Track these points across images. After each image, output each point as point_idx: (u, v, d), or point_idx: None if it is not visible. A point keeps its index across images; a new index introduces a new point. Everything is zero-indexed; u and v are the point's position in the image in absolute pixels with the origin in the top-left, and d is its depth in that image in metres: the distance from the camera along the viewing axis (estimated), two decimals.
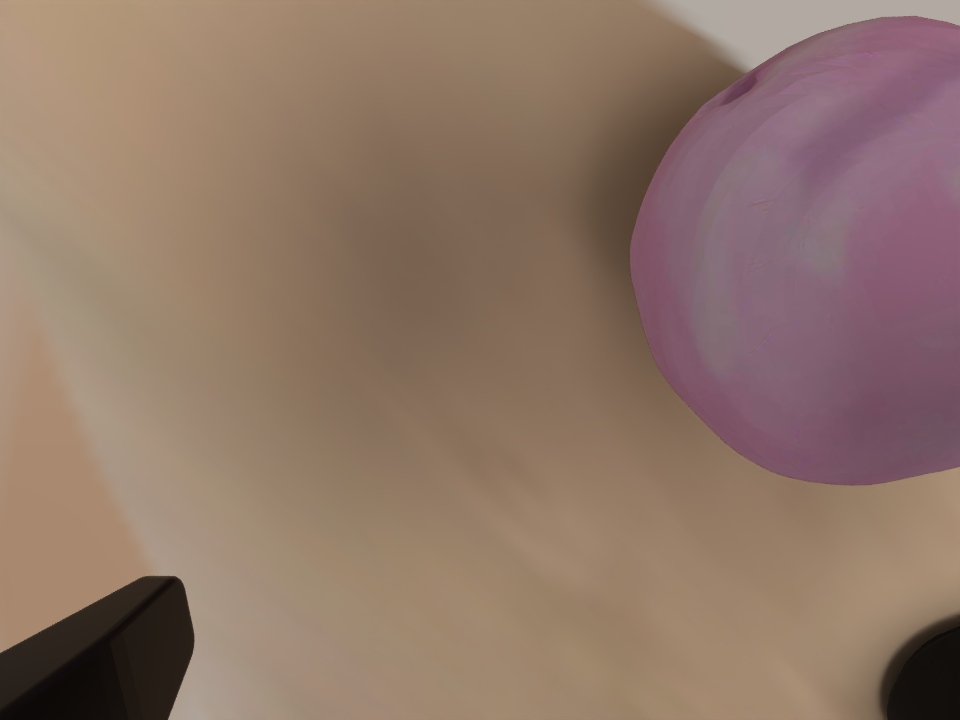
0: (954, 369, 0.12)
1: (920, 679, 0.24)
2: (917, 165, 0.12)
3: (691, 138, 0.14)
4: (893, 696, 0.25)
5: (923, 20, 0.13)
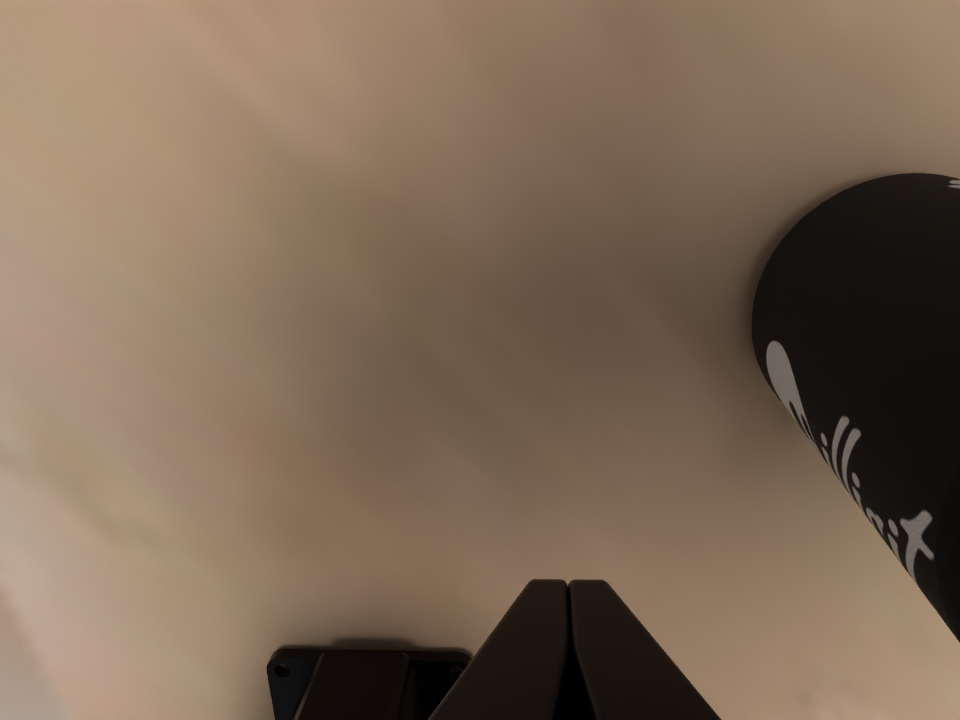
0: None
1: (785, 252, 0.18)
2: None
3: None
4: (756, 297, 0.18)
5: None
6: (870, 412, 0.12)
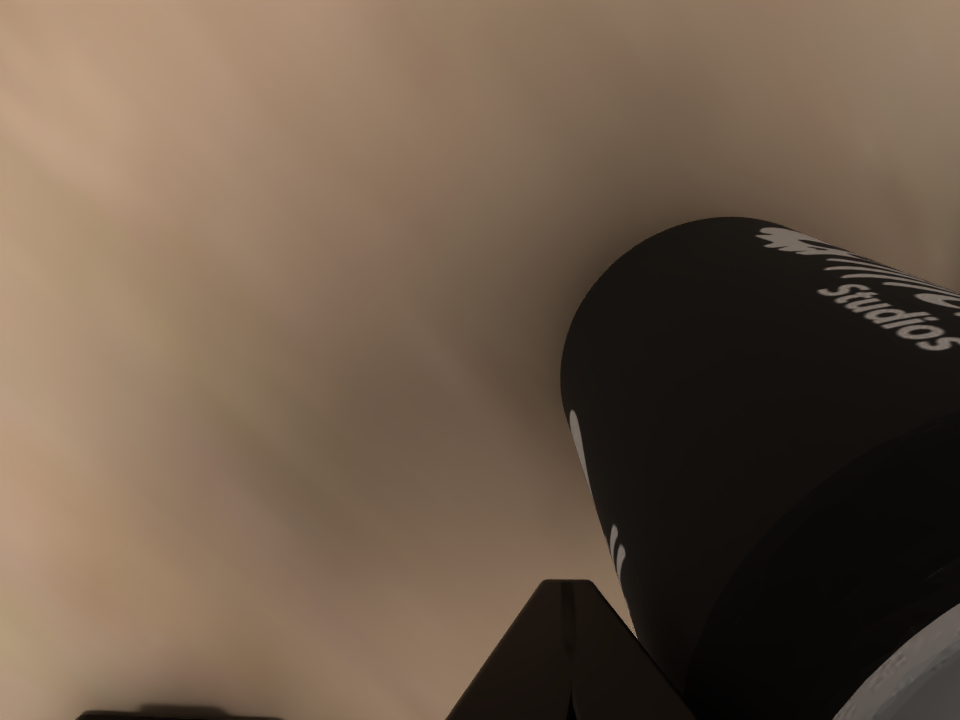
0: None
1: (590, 305, 0.15)
2: None
3: None
4: (563, 354, 0.16)
5: None
6: (632, 530, 0.09)
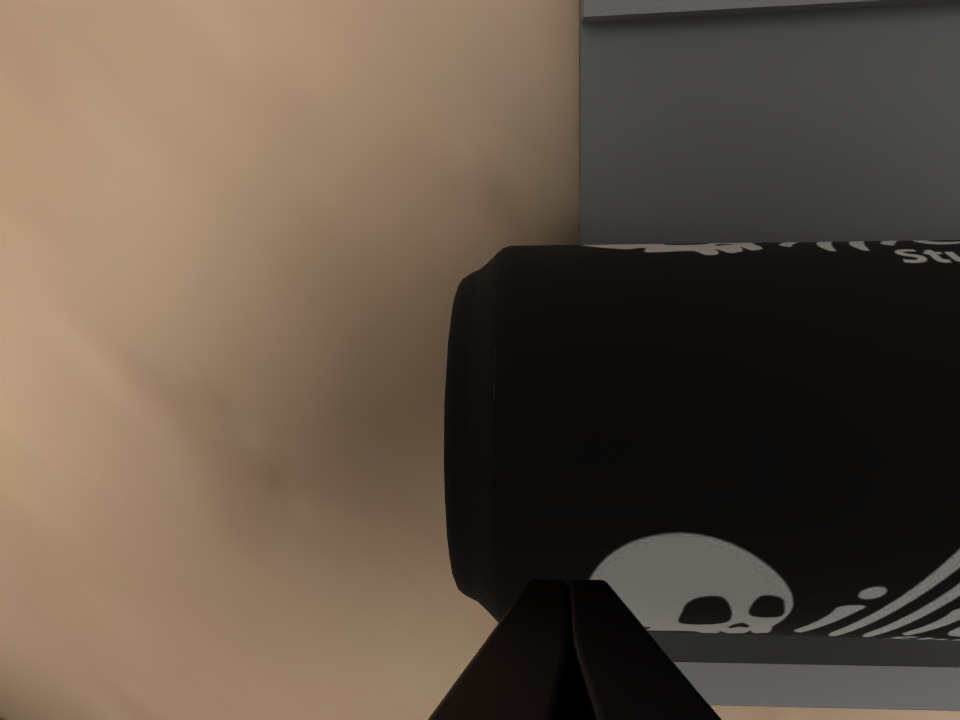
0: None
1: (550, 409, 0.10)
2: None
3: None
4: (510, 501, 0.10)
5: None
6: None
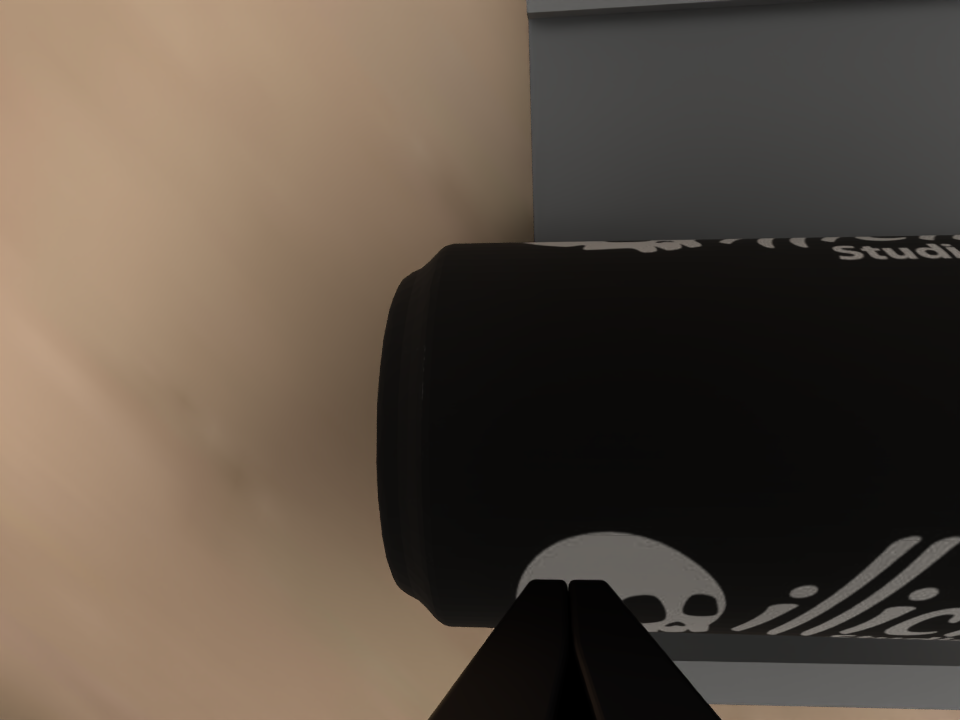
0: None
1: (478, 408, 0.10)
2: None
3: None
4: (439, 501, 0.10)
5: None
6: None
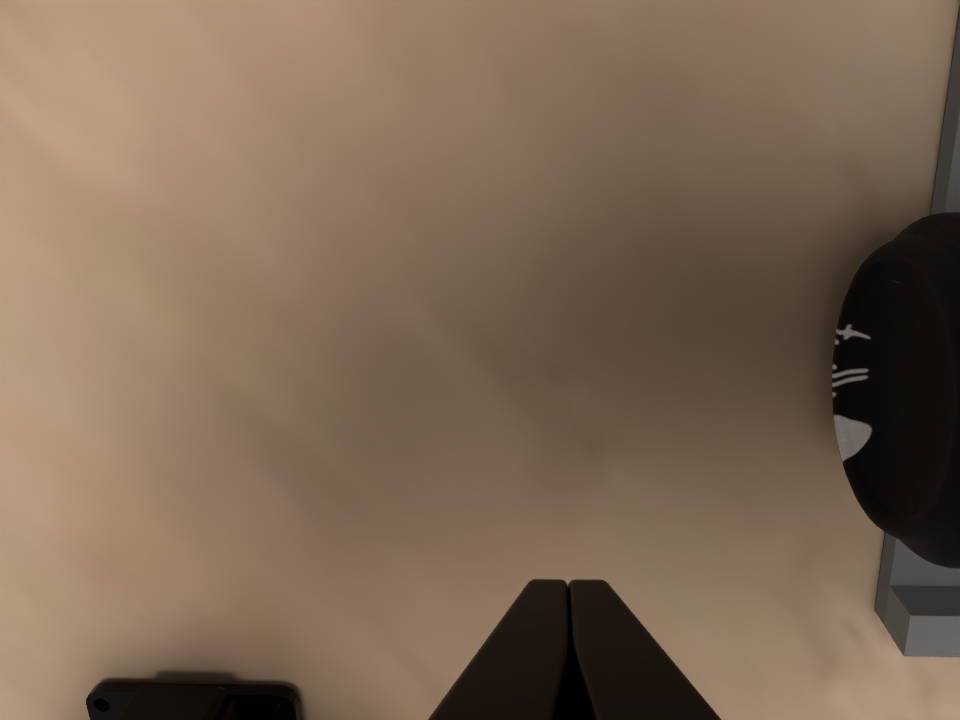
0: None
1: None
2: None
3: None
4: None
5: None
6: None
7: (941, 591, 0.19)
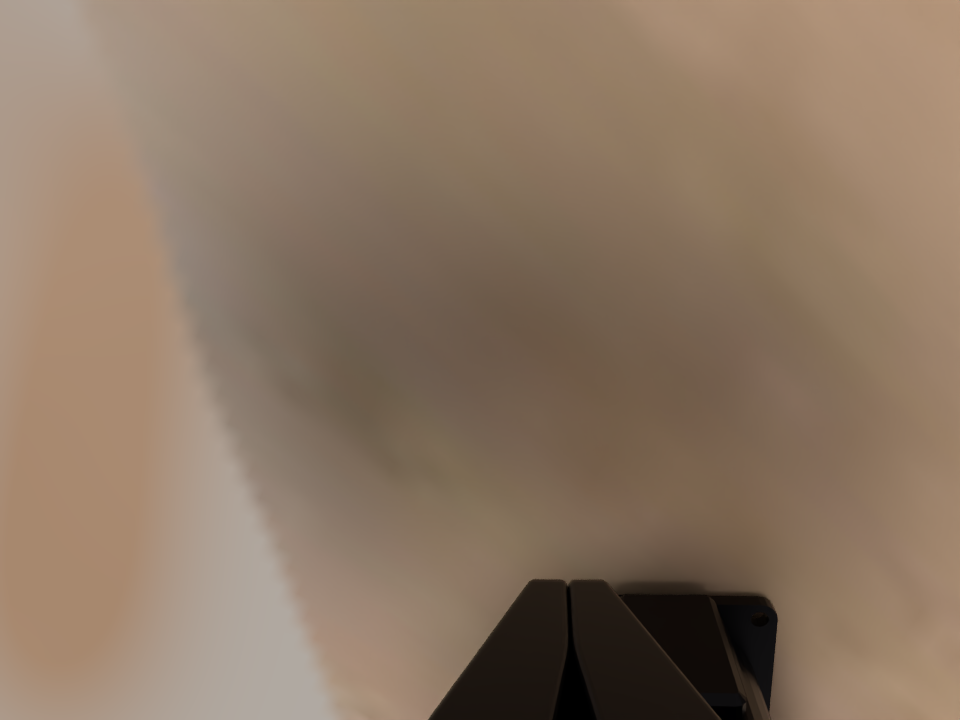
0: None
1: None
2: None
3: None
4: None
5: None
6: None
7: None
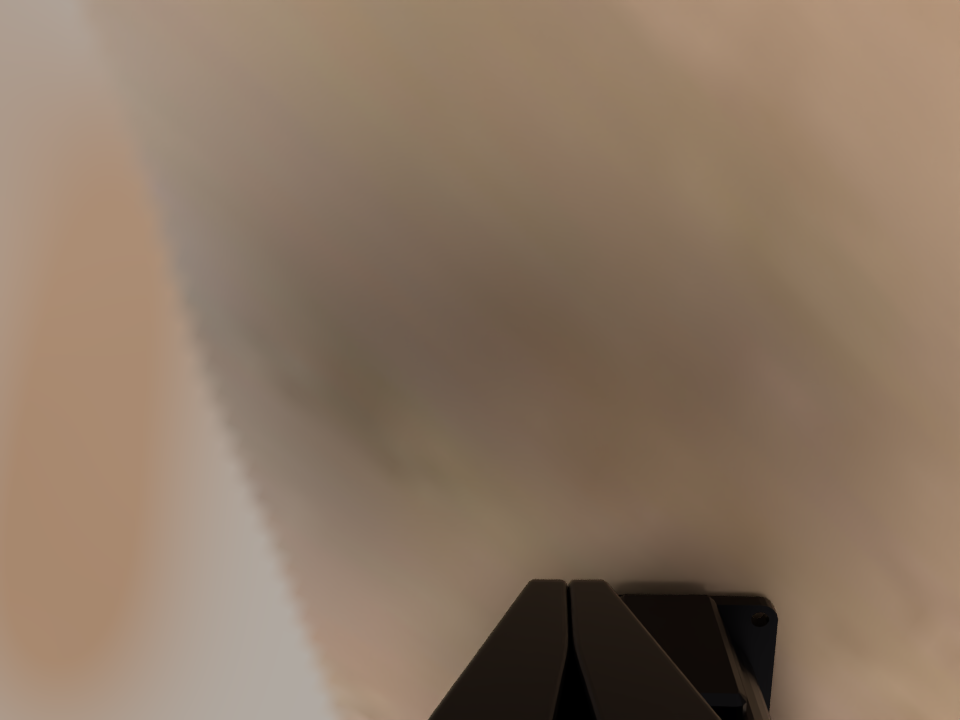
0: None
1: None
2: None
3: None
4: None
5: None
6: None
7: None
